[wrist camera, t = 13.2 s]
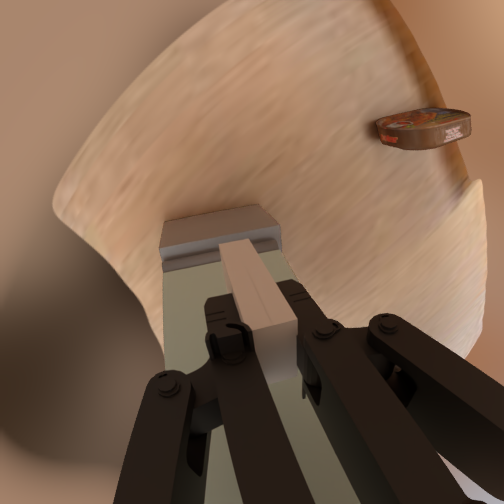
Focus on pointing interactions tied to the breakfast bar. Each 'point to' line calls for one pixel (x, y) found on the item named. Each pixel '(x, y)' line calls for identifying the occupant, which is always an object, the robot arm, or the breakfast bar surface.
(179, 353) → the cover
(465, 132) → the tin
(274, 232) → the grey u-shaped bracket
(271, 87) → the breakfast bar surface
